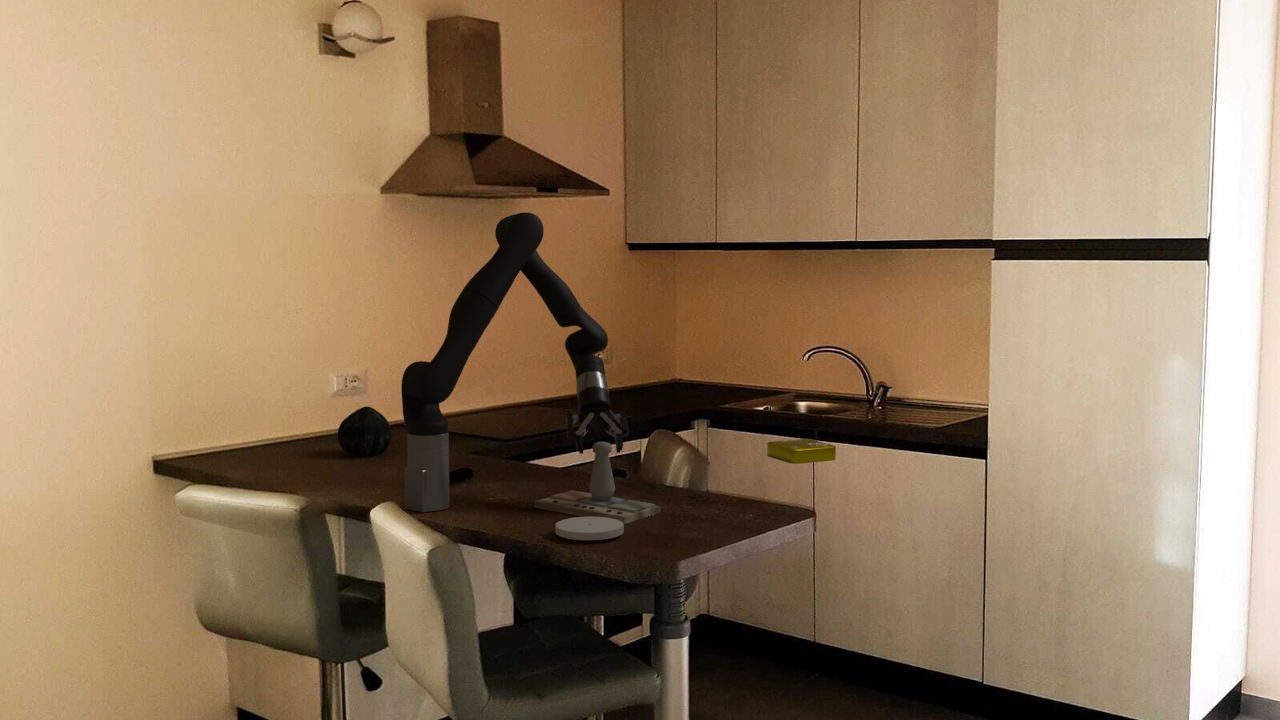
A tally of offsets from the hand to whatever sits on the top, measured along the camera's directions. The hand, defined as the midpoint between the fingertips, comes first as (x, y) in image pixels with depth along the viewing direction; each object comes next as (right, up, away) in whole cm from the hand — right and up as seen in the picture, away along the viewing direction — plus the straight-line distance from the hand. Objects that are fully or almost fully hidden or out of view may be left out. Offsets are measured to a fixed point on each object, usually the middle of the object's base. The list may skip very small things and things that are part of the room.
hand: (600, 451), depth 258 cm
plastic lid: (-1, -16, -25) cm, 29 cm away
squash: (-70, -7, +69) cm, 98 cm away
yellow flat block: (+55, -8, +63) cm, 84 cm away
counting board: (-1, -13, -2) cm, 13 cm away
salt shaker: (0, -11, 0) cm, 11 cm away
